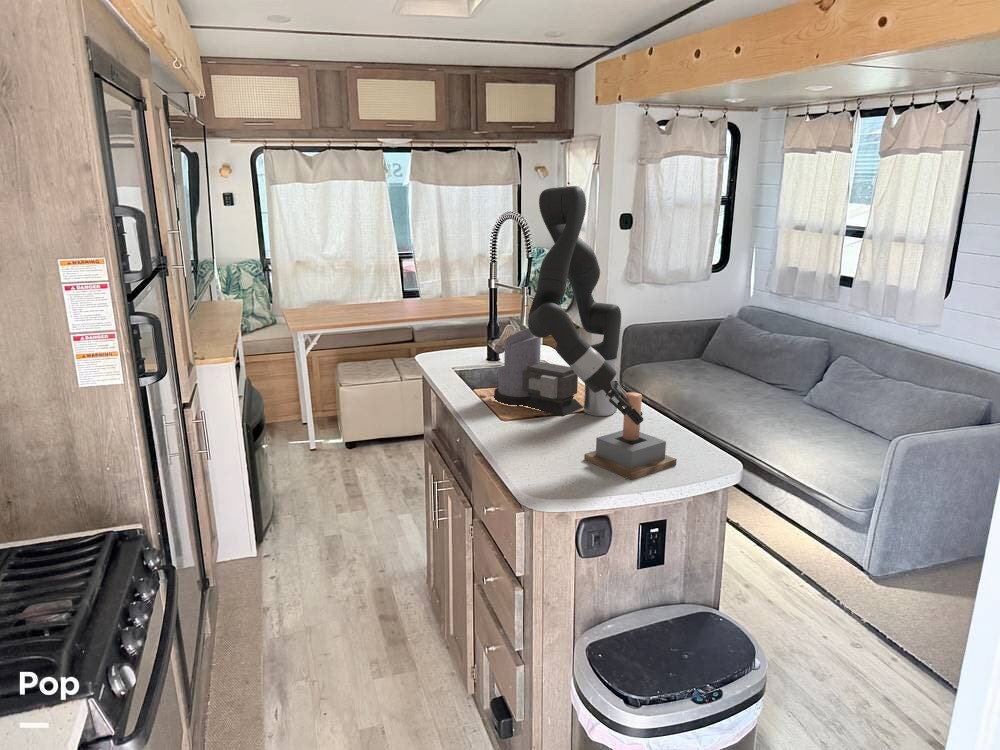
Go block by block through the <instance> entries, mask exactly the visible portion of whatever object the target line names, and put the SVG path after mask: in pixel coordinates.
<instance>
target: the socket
mask: <svg viewBox="0 0 1000 750" xmlns="http://www.w3.org/2000/svg"><path fill="white" fill-rule="evenodd" d="M595 443H596V444H595V451H596V455H598V456H600V457H603V458H605V459H608V460H610V461H612V462H615V463H617V464H620V465H622V466H624V467H627V468H629V469H634V468H637V467H640V466H643V465H646V464H649V463H653V462H656V461H659V460H662V459H665V455H666V450H667V449H666V448H667V440H663V439H660V438H658V437H655V436H653V435H650V434H647V433H644V432H642V431H639V439H638V440H627V439H624V438H623V429H622V430H620V431H616V432H612V433H609V434H605V435H601V436H597V437H596V442H595Z"/></svg>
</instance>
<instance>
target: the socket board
mask: <svg viewBox="0 0 1000 750" xmlns="http://www.w3.org/2000/svg"><path fill="white" fill-rule="evenodd" d="M583 458H584V461H586V462H588V463H592V464H594V465H596V466H599V467H600V468H603V469H605V470H607V471H610V472H612V473H614V474H617V475H619V476H620V477H621V476H622V477H624V478H626V479H628V480H631V481H632V480H635V479H636V480H637V479H638V478H641V477H645V476H647V475H650V474H654V473H655V472H659V471H662V470H665V469H668V468H671V467H673V466H676V465H677V458H675V457H672V456H670V455H667V454H665V459H662V460H659V461H656V462H653V463H649V464H646V465H643V466H640V467H637V468H634V469H629V468H627V467H624V466H622V465H620V464H617V463H615V462H612V461H610V460H608V459H605V458H603V457H600V456H598V455H596V450H594V451H590V452H587V453H584V457H583Z"/></svg>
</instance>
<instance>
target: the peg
mask: <svg viewBox="0 0 1000 750" xmlns="http://www.w3.org/2000/svg"><path fill="white" fill-rule="evenodd" d="M625 395H626V396H627V397H628V399H629V400H628V402H629V403H630V404H631V405H632V406H633V408H634V409H635V410H636V411H637V412H638V413H639V414H640V415H641V412H642V400H643V399H642V398H643V394H641V393H639V392H633V391H631V392H630V391H629V392H627V393H626V394H625ZM626 407H627V406H626V405H625V406H624V407H623V408H624V409H625V408H626ZM640 428H641V423H640V424H639V425H636V424H635V423H634V422H633V420H632V419H631V418H630V417H629V416H628V415H624V414H623V427H622V430H623V438H624V439H627V440H638V439H639V432H641V431H640Z"/></svg>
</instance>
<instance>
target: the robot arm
mask: <svg viewBox="0 0 1000 750" xmlns="http://www.w3.org/2000/svg"><path fill="white" fill-rule="evenodd" d="M538 207H539V212H540V214H541V218H542V220H543V222H544V225H545V227H546V229H547V231H548V232H549V235H550V237H551V239H552V241H553V245H552V246H551V248H550V249H549V250H548V252H547V253H546V254H545V256H544V258H543V260H542V261H541V263H540V264H541V265H540V268H539V272H538V279H537V285H536V292H535V294H534V297H533V300H532V303H531V305H530V309H529V313H528V317H527V328H529V330H530V331H531V333H532V334H533V335H534V336H535V337H539V338H541V339H542V338H543V339H544V338H547V337H549V336H551V337H552V339H553V340H554V341H555V343H556V345H555V351H556V353H557V354H558V355H559V357H560V358H561V359H563V361H564V362H565V363H566V364H567V366H568V367H571V368H572V370H573V371H574V372H575V374H576V375H577V376H578V379H580V380H581V381H582V382H583V383H584V398H583V399H584V401H583V412H584V413H585V414H587V415H589V416H597V417H606V416H612V415H613V414H615V412H617V410H618V412H620V413H621V414H622V415H623V416H624V415H628V416H629V417H630V418H631V419H632V420H633V422H634V423H635V424H636V425H639V424H640V425H641V423H643V422H644V417H643V412H642V411H641V415H640V414H639V413H638V412H637V411H636V410H635V409H634V408H633V406H632V405H631V404H630V403H629V402H628V400H629V399H628V397H627V396H626V395H625V394H626V393H628V392H627V391H626V390H625V389H624V388H623V387H622V386H621V384H620V383H619V381H618V380H617V367H618V366H617V364H618V363H617V362H618V353H619V352H618V351H619V346H620V334H621V325H622V311H621V308H620V306H619V305H617V304H612V303H606V302H605V303H603V302H596V301H595V299H594V297H593V292H594V290H595V288H596V287H597V284H598V282H599V280H600V276H601V269H600V264H599V262H598V259H597V256H596V253H595V251H594V250H593V248H592V247H591V246H590V245H589V244H588V243H587V242H586V241H585V240H583V239H582V238H581V237H579V236H580V233H581V231H582V230H581V229H582V228H583V227H582V226H583V224H584V220H585V217H586V216H585V215H586V211H587V198H586V194H585V191H584V190H583V188H581V187H580V186H577V185H571V186H557V187H550V188H546V189H544V190H542V191H541V193H540V194H539V199H538ZM567 282H569V285H570V289H571V290H572V293H573V296H574V300H575V302H576V306H577V310H578V313H579V314H578V315H579V319H580V322H581V325H582V327H583V330H585V332H586V333H590V334H595V335H602V336H603V337H602V338H603V339H602V341H601V342H598V343H595V344H589V342H588V341H586V339H585V338H583V337H582V335H580V334H579V332H578V330H577V327H576V326H575V325H574V323H573V321H572V319H571V317H569V315H568V313H567V312H566V311H565V310H564V309H563V308H562V306H560V305H559V304H560V302H561V300H562V299H563V298H564V296H565V294H566V289H567ZM625 405H626V406H627V407H626V408H625V409H624V406H625Z"/></svg>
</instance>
